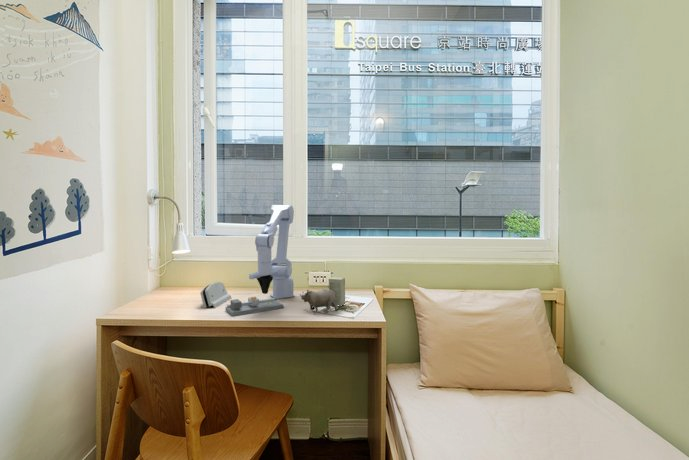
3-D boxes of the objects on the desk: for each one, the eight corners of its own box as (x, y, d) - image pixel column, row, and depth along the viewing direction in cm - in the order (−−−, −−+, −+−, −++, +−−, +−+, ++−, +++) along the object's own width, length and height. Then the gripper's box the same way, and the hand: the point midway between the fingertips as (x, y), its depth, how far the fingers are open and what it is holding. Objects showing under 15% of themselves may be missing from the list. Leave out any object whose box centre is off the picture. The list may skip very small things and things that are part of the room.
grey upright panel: (214, 308, 158) (207, 286, 158) (205, 311, 159) (197, 289, 159) (232, 298, 175) (224, 278, 175) (223, 301, 176) (216, 281, 175)
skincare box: (345, 304, 166) (345, 277, 165) (341, 307, 162) (341, 279, 161) (332, 303, 169) (332, 276, 168) (328, 305, 165) (328, 278, 164)
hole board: (274, 303, 168) (274, 292, 167) (283, 307, 160) (283, 297, 160) (225, 310, 155) (225, 299, 155) (232, 316, 148) (232, 304, 147)
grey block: (254, 303, 160) (254, 295, 160) (259, 306, 156) (259, 297, 156) (248, 304, 158) (248, 296, 158) (252, 307, 154) (252, 298, 154)
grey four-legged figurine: (342, 309, 151) (321, 278, 152) (314, 327, 152) (294, 296, 153) (344, 305, 158) (325, 276, 160) (318, 323, 160) (299, 293, 161)
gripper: (272, 258, 167) (272, 288, 168) (244, 262, 156) (245, 294, 157) (282, 260, 162) (282, 291, 163) (254, 265, 151) (255, 297, 152)
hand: (264, 293), depth 160 cm, fingers closed
